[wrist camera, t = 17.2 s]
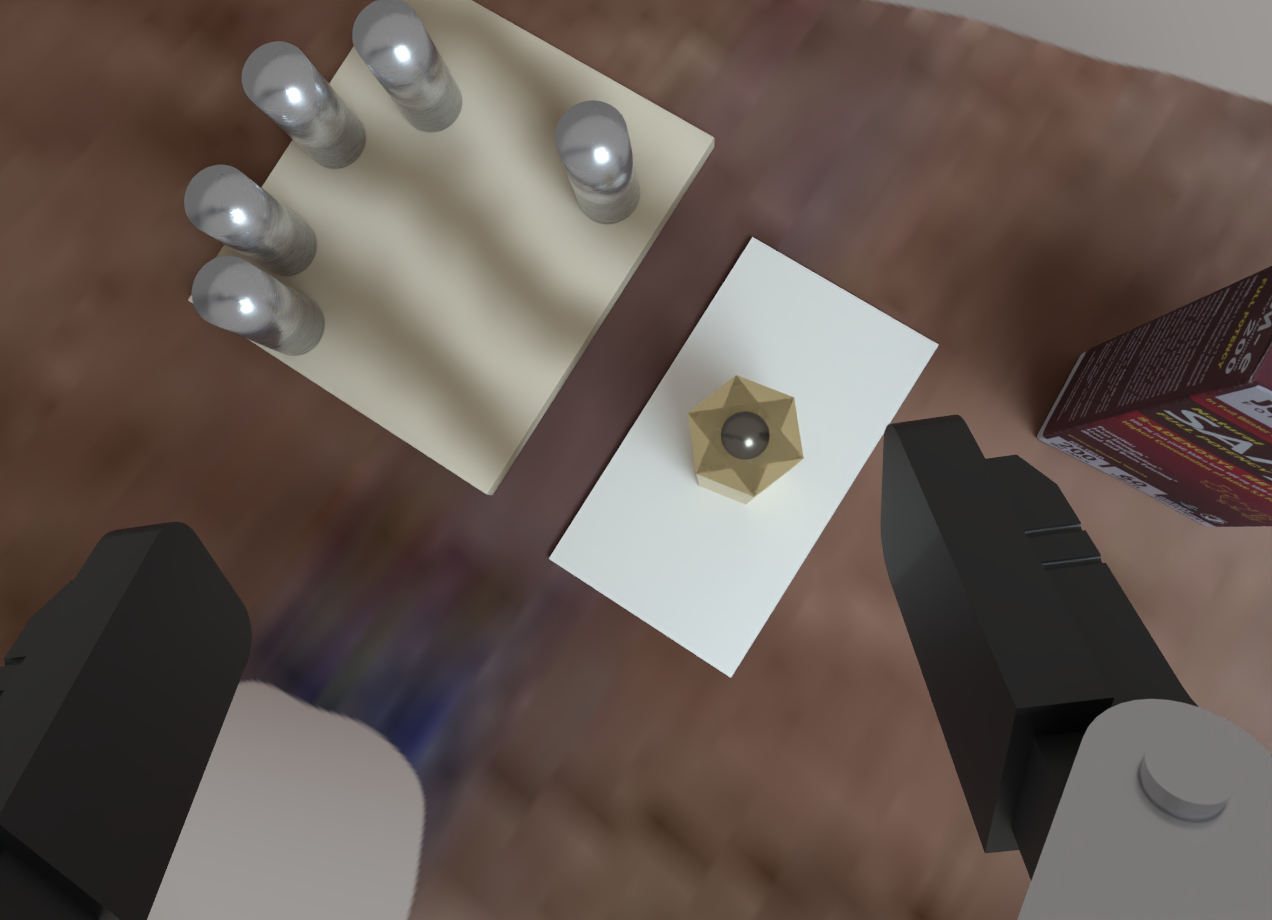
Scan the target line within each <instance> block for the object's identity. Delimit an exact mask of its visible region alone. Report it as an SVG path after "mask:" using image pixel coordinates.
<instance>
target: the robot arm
mask: <svg viewBox="0 0 1272 920" xmlns="http://www.w3.org/2000/svg"><path fill="white" fill-rule="evenodd" d="M881 538H882V547H883V553H884V559H885V563H886V568H887V572H888V575H889V579H890V582H891V584H892V587H893V590H894V593H895V596H896V599H897V602H898V605H899V607H900V610H901V613H902V616H903V619H904V622H905V625H906V628H907V631H908V633H909V636H910V639H911V642H912V645H913V648H914V651H915V654H916V656H917V659H918V662H919V665H920V668H921V671H922V674H923V677H924V679H925V682H926V685H927V688H928V691H929V694H930V697H931V700H932V702H933V705H934V708H935V711H936V714H937V717H938V720H939V723H940V725H941V728H942V731H943V734H944V737H945V740H946V743H947V746H948V748H949V751H950V754H951V757H952V760H953V763H954V766H955V768H956V771H957V774H958V777H959V780H960V783H961V786H962V789H963V792H964V794H965V797H966V800H967V803H968V806H969V809H970V812H971V815H972V817H973V820H974V823H975V826H976V829H977V832H978V835H979V838H980V840H981V843H982V846H983V849H984V852H985V853H992V852H1002V851H1012V850H1020V852H1021V855H1022V858H1023V860H1024V863H1025V866H1026V868H1027V871H1028V873H1029V876H1030V879H1031V883H1030V886H1029V889H1028V892H1027V895H1026V897H1025V900H1024V903H1023V906H1022V909H1021V911H1020V914H1019V917H1018V920H1272V755H1271V754H1270V753H1269V752H1268V751H1267V750H1266V749H1265V748H1264V747H1263V746H1262V745H1261V744H1260V743H1259V742H1258V741H1257V740H1255V739H1254V738H1253V737H1252V736H1251V735H1249V734H1248V733H1246V732H1245V731H1244V730H1242V729H1241V728H1240V727H1238V726H1237V725H1235V724H1233V723H1231V722H1230V721H1228V720H1226V719H1224V718H1223V717H1221V716H1219V715H1216V714H1214V713H1212V712H1210V711H1207V710H1205V709H1203V708H1199V707H1198V706H1197V704H1196V703H1195V702H1194V701H1193V700H1192V699H1191V698H1190V696H1189V695H1188V693H1187V692H1186V691H1185V689H1184V688H1183V687H1182V685H1181V683H1180V682H1179V680H1178V679H1177V677H1176V675H1175V674H1174V672H1173V671H1172V669H1171V667H1170V666H1169V664H1168V662H1167V661H1166V659H1165V658H1164V656H1163V654H1162V653H1161V651H1160V650H1159V648H1158V646H1157V645H1156V643H1155V642H1154V640H1153V638H1152V637H1151V635H1150V633H1149V632H1148V630H1147V629H1146V627H1145V625H1144V624H1143V622H1142V621H1141V619H1140V617H1139V616H1138V614H1137V613H1136V611H1135V609H1134V608H1133V606H1132V604H1131V603H1130V601H1129V600H1128V598H1127V596H1126V595H1125V593H1124V592H1123V590H1122V588H1121V587H1120V585H1119V584H1118V582H1117V580H1116V579H1115V577H1114V575H1113V574H1112V572H1111V571H1110V569H1109V567H1108V566H1107V564H1106V563H1102V562H1101V558H1100V553H1099V551H1098V550H1097V548H1096V546H1095V545H1094V543H1093V542H1092V540H1091V538H1090V537H1089V535H1088V534H1087V532H1086V530H1084V531H1082V529H1081V522H1080V521H1079V519H1078V517H1077V516H1076V514H1075V513H1074V511H1073V509H1072V508H1071V506H1070V505H1069V503H1068V501H1067V500H1066V498H1065V497H1064V495H1063V493H1062V492H1061V490H1060V488H1059V487H1058V485H1057V484H1056V483H1054V482H1053V481H1052V480H1050V479H1049V478H1048V477H1046V476H1045V475H1043V474H1042V473H1041V472H1039V471H1038V470H1037V469H1035V468H1034V467H1033V466H1031V465H1030V464H1029V463H1027V462H1026V461H1025V460H1023V459H1022V458H1020V457H1019V456H1018V455H1011V456H1003V457H996V458H989V459H985V457H984V456H983V454H982V452H981V450H980V448H979V446H978V444H977V443H976V441H975V439H974V437H973V435H972V433H971V432H970V430H969V428H968V426H967V424H966V423H965V421H964V420H963V418H962V417H961V416H959V415H950V416H943V417H936V418H929V419H922V420H914V421H907V422H900V423H893V424H888V425H887V427H886V429H885V434H884V448H883V475H882V502H881ZM251 641H252V633H251V624H250V619H249V616H248V613H247V610H246V608H245V606H244V604H243V603H242V601H241V600H240V598H239V597H238V595H237V594H236V592H235V591H234V589H233V588H232V586H231V585H230V583H229V582H228V580H227V579H226V577H225V576H224V575H223V573H222V572H221V570H220V569H219V567H218V566H217V564H216V563H215V561H214V560H213V558H212V557H211V555H210V554H209V552H208V551H207V549H206V548H205V546H204V545H203V543H202V542H201V541H200V539H199V538H198V536H197V535H196V533H195V532H194V531H193V530H192V529H191V528H190V527H189V526H188V525H186V524H184V523H181V522H169V523H162V524H155V525H148V526H141V527H134V528H127V529H119V530H114V531H111V532H109V533H107V534H106V535H105V536H103V537H102V538H101V540H100V541H99V542H98V544H97V545H96V547H95V548H94V550H93V551H92V553H91V555H90V556H89V558H88V559H87V561H86V562H85V564H84V566H83V567H82V569H81V570H80V572H79V573H78V575H77V577H76V578H75V580H73V581H70V582H69V583H68V584H67V585H66V586H65V587H64V588H63V589H62V590H61V591H59V592H58V593H57V594H56V595H55V596H54V597H53V598H52V599H51V600H50V601H49V602H48V603H47V604H46V605H44V606H43V607H42V608H41V609H40V610H39V611H38V612H37V613H36V614H35V615H34V616H33V617H32V618H31V619H30V620H29V622H28V623H27V625H26V626H25V628H24V629H23V631H22V632H21V634H20V635H19V637H18V639H17V640H16V642H15V643H14V645H13V646H12V648H11V649H10V651H9V652H8V654H7V655H6V657H5V658H4V660H5V666H4V667H0V920H147V918H148V915H149V913H150V910H151V908H152V905H153V902H154V900H155V897H156V894H157V892H158V889H159V887H160V884H161V882H162V879H163V877H164V874H165V871H166V869H167V866H168V864H169V861H170V858H171V856H172V853H173V851H174V848H175V846H176V843H177V841H178V838H179V835H180V833H181V830H182V828H183V825H184V823H185V820H186V817H187V815H188V812H189V810H190V807H191V804H192V802H193V799H194V797H195V794H196V792H197V789H198V787H199V784H200V781H201V779H202V776H203V773H204V771H205V769H206V766H207V763H208V761H209V758H210V756H211V753H212V750H213V748H214V745H215V743H216V740H217V738H218V735H219V733H220V730H221V727H222V725H223V722H224V720H225V717H226V714H227V712H228V709H229V707H230V704H231V702H232V699H233V696H234V694H235V691H236V689H237V686H238V684H239V681H240V678H241V676H242V673H243V671H244V668H245V666H246V663H247V660H248V657H249V654H250V649H251Z"/></svg>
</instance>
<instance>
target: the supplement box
mask: <svg viewBox="0 0 1272 920" xmlns="http://www.w3.org/2000/svg"><path fill="white" fill-rule="evenodd" d="M1037 438H1038V439H1039V440H1041V441H1043V442H1045V443H1047V444H1049V445H1051V446H1053V447H1055V448H1057V449H1059V450H1061V451H1063V452H1065V453H1067V454H1069V455H1071V456H1073V457H1075V458H1077V459H1079V460H1081V461H1083V462H1085V463H1087V464H1089V465H1091V466H1093V467H1095V468H1097V469H1099V470H1101V471H1103V472H1105V473H1107V474H1109V475H1111V476H1113V477H1115V478H1117V479H1119V480H1121V481H1123V482H1125V483H1127V484H1129V485H1131V486H1133V487H1134V488H1136V489H1138V490H1140V491H1142V492H1144V493H1146V494H1148V495H1150V496H1152V497H1153V498H1155V499H1157V500H1159V501H1161V502H1163V503H1164V504H1166V505H1168V506H1170V507H1171V508H1173V509H1175V510H1177V511H1179V512H1180V513H1182V514H1184V515H1186V516H1188V517H1190V518H1191V519H1193V520H1195V521H1197V522H1199V523H1200V524H1202V525H1204V526H1208V527H1221V526H1223V527H1231V526H1232V527H1243V526H1272V266H1270V267H1268V268H1266V269H1264V270H1262V271H1260V272H1257V273H1255V274H1253V275H1251V276H1249V277H1246V278H1244V279H1242V280H1240V281H1238V282H1236V283H1234V284H1231V285H1229V286H1227V287H1224V288H1222V289H1220V290H1218V291H1216V292H1214V293H1212V294H1210V295H1207V296H1205V297H1202V298H1200V299H1198V300H1196V301H1194V302H1192V303H1189V304H1187V305H1185V306H1183V307H1181V308H1178V309H1176V310H1174V311H1172V312H1169V313H1168V314H1166V315H1163V316H1161V317H1159V318H1157V319H1154V320H1152V321H1150V322H1148V323H1146V324H1143V325H1141V326H1139V327H1137V328H1135V329H1133V330H1131V331H1128V332H1126V333H1124V334H1121V335H1119V336H1117V337H1115V338H1113V339H1111V340H1109V341H1106V342H1104V343H1102V344H1100V345H1098V346H1096V347H1094V348H1092V349H1090V350H1088V351H1086V352H1084V353H1082V354H1081V355H1080V357H1079V359H1078V361H1077V362H1076V364H1075V366H1074V368H1073V370H1072V372H1071V374H1070V375H1069V377H1068V379H1067V381H1066V383H1065V385H1064V387H1063V388H1062V390H1061V392H1060V394H1059V396H1058V398H1057V400H1056V401H1055V403H1054V405H1053V407H1052V409H1051V411H1050V413H1049V414H1048V416H1047V418H1046V420H1045V422H1044V424H1043V426H1042V427H1041V429H1040V431H1039V433H1038V435H1037Z"/></svg>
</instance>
